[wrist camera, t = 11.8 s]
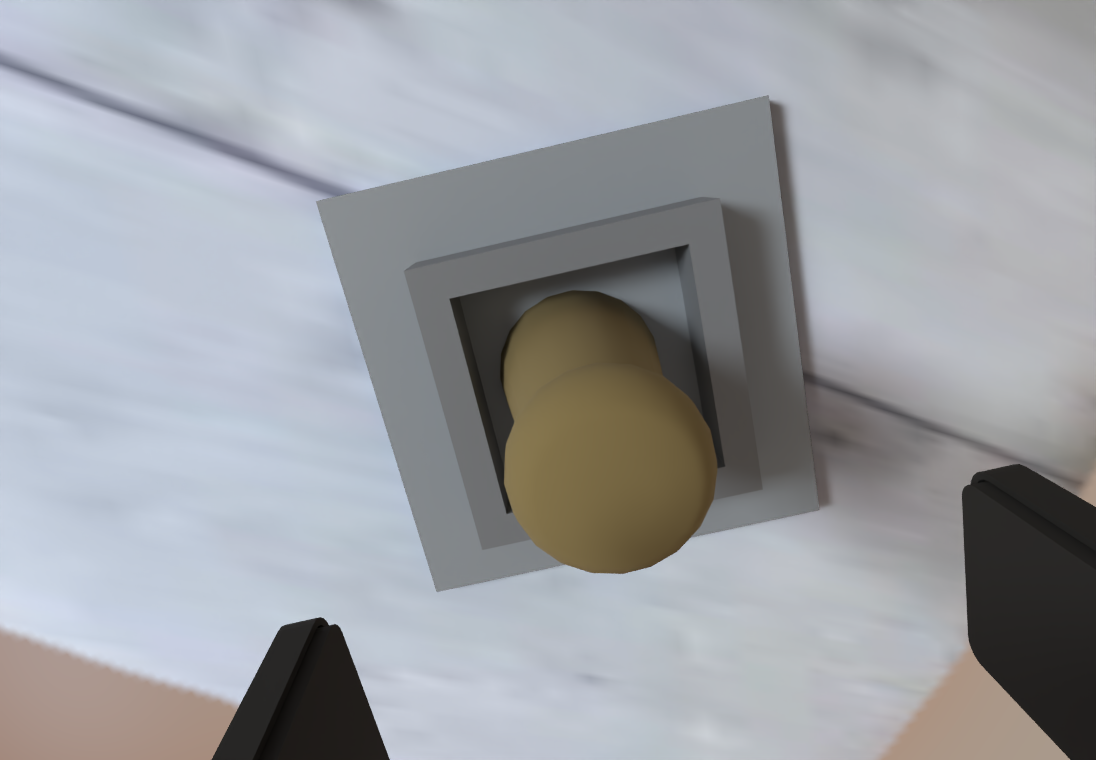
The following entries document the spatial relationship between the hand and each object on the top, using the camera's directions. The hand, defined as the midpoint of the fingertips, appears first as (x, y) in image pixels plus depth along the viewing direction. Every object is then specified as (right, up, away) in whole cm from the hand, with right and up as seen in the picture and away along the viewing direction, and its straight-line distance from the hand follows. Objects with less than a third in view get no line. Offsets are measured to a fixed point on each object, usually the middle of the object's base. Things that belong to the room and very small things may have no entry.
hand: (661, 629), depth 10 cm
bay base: (0, +4, +16) cm, 17 cm away
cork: (-1, +4, +16) cm, 16 cm away
